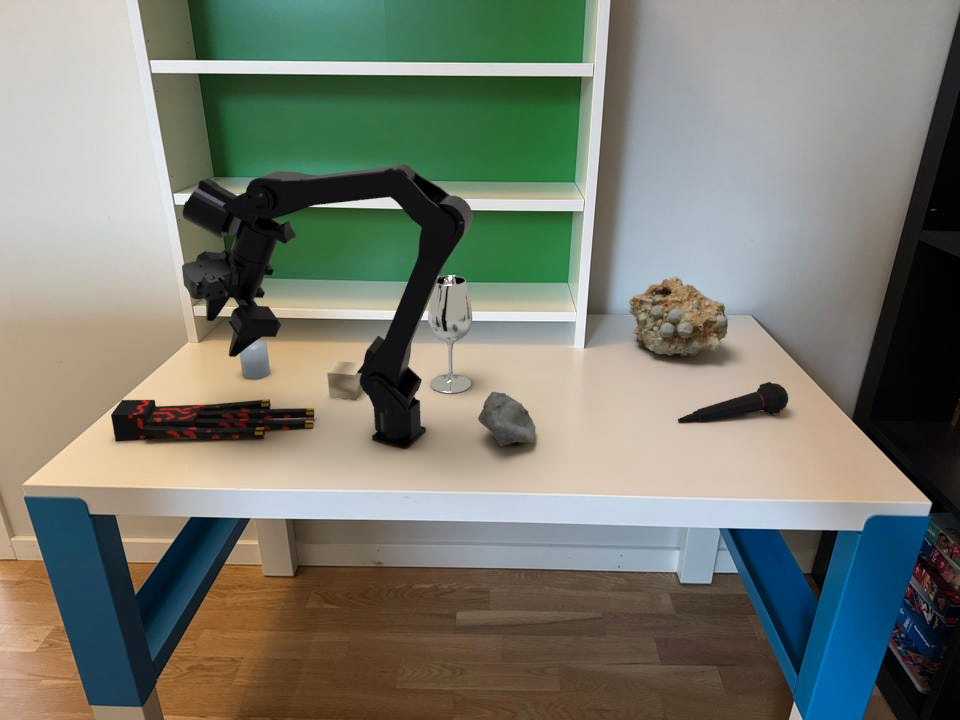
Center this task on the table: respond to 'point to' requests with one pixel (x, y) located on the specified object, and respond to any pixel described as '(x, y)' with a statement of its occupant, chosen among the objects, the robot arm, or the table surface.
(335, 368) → the beech cube
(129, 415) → the toy
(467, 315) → the wineglass
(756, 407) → the microphone
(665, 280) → the rock
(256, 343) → the grey cylinder
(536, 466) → the table surface
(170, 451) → the table surface
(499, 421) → the grey stone
